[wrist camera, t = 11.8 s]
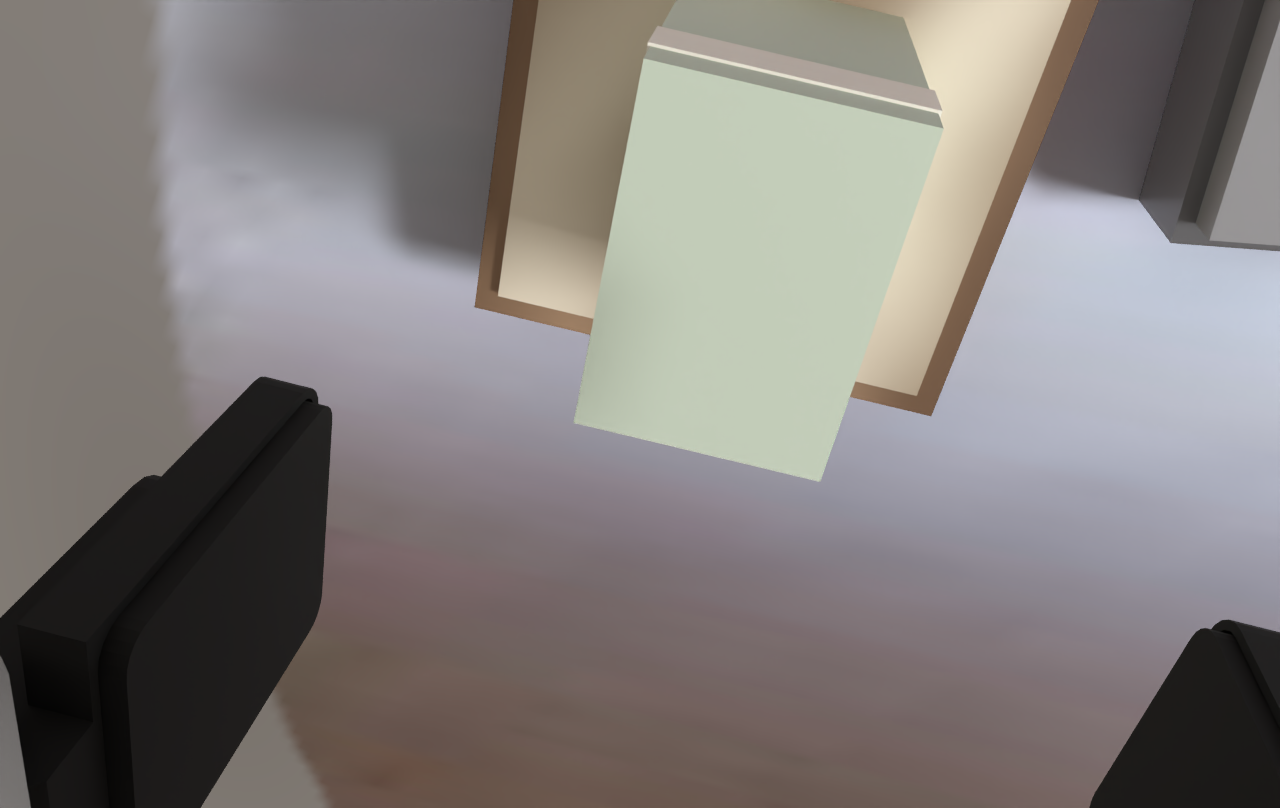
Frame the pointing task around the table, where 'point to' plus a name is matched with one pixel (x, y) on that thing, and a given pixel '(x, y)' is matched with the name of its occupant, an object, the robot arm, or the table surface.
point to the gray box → (1221, 131)
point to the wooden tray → (599, 129)
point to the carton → (757, 227)
